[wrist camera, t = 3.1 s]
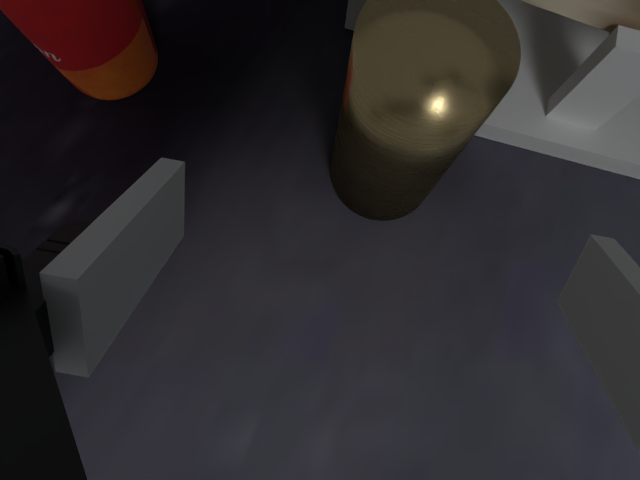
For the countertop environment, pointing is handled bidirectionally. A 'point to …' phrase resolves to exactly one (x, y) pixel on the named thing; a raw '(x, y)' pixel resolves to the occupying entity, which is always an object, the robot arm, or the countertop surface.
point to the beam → (596, 12)
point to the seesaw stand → (568, 90)
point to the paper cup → (91, 42)
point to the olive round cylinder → (417, 97)
